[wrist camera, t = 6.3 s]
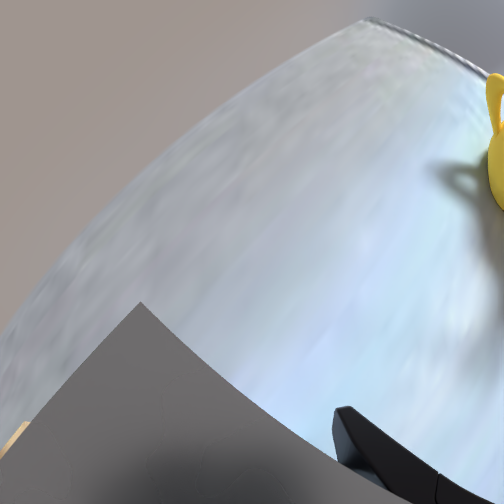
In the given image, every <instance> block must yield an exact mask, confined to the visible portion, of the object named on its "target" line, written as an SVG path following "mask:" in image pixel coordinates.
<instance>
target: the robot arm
mask: <svg viewBox="0 0 504 504" xmlns="http://www.w3.org/2000/svg"><path fill="white" fill-rule="evenodd" d="M332 435H333V440H334V444H335V449H336V454H337V459H338V462H339V463H340V464H342V465H344V466H345V467H347V468H349V469H350V470H352V471H354V472H355V473H357V474H359V475H360V476H362V477H364V478H365V479H367V480H369V481H371V482H372V483H374V484H376V485H378V486H380V487H381V488H383V489H385V490H387V491H389V492H391V493H393V494H394V495H396V496H398V497H400V498H402V499H404V500H406V501H408V502H410V503H412V504H494V503H492V502H490V501H488V500H486V499H483V498H481V497H479V496H477V495H475V494H473V493H471V492H469V491H467V490H466V489H464V488H462V487H460V486H459V485H457V484H456V483H454V482H453V481H451V480H449V479H448V478H447V477H445V476H444V475H442V474H441V473H439V474H438V471H436V470H435V469H433V468H432V467H431V466H429V465H428V464H426V463H425V462H424V461H422V460H421V459H419V458H418V457H417V456H415V455H414V454H413V453H411V452H410V451H409V450H407V449H406V448H404V447H403V446H402V445H400V444H399V443H398V442H396V441H395V440H394V439H392V438H391V437H390V436H389V435H387V434H386V433H385V432H383V431H382V430H381V429H379V428H378V427H377V426H375V425H374V424H373V423H372V422H370V421H369V420H368V419H366V418H365V417H364V416H363V415H361V414H360V413H359V412H358V411H356V410H355V409H354V408H353V407H351V406H344V407H339V408H336V409H335V411H334V418H333V425H332Z"/></svg>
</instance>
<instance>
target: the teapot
mask: <svg viewBox="0 0 504 504" xmlns="http://www.w3.org/2000/svg"><path fill="white" fill-rule="evenodd" d="M503 93H504V76H502V75H500V74H495V73H493V74H490V75H489V77H488V78H487V82H486V100H487V105H488V110H489V115H490V120H491V124H492V128H493V133H494V134H493V136H492V138H491V141H490V145H489V150H488V176H489V184H490V188H491V191H492V194H493V197H494V199H495V200H496V202H497V204H498V205H499V206H500V207H501V209H502V210H503V211H504V121H503V122H502V123H501V117H500V109H501V98H502V95H503Z"/></svg>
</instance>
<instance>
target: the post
mask: <svg viewBox="0 0 504 504" xmlns="http://www.w3.org/2000/svg"><path fill="white" fill-rule="evenodd" d="M0 504H412V503H410V502H408V501H406V500H404V499H402V498H400V497H398V496H396V495H394V494H393V493H391V492H389V491H387V490H385V489H383V488H381V487H380V486H378V485H376V484H374V483H372V482H371V481H369V480H367V479H365V478H364V477H362V476H360V475H359V474H357V473H355V472H354V471H352V470H350V469H349V468H347V467H345V466H344V465H342V464H340V463H339V462H337V461H336V460H334V459H333V458H331V457H329V456H328V455H326V454H325V453H323V452H322V451H320V450H319V449H317V448H316V447H314V446H313V445H311V444H310V443H308V442H307V441H305V440H304V439H302V438H301V437H300V436H298V435H297V434H295V433H294V432H292V431H291V430H290V429H288V428H287V427H285V426H284V425H283V424H281V423H280V422H279V421H277V420H276V419H275V418H273V417H272V416H270V415H269V414H268V413H267V412H265V411H264V410H263V409H261V408H260V407H259V406H257V405H256V404H255V403H254V402H252V401H251V400H250V399H248V398H247V397H246V396H245V395H243V394H242V393H241V392H240V391H238V390H237V389H236V388H235V387H233V386H232V385H231V384H230V383H229V382H227V381H226V380H225V379H224V378H223V377H221V376H220V375H219V374H218V373H217V372H216V371H214V370H213V369H212V368H211V367H210V366H209V365H207V364H206V363H205V362H204V361H203V360H202V359H201V358H199V357H198V356H197V355H196V354H195V353H194V352H193V351H192V350H191V349H189V348H188V347H187V346H186V345H185V344H184V343H183V342H182V341H181V340H180V339H179V338H177V337H176V336H175V335H174V334H173V333H172V332H171V331H170V330H169V329H168V328H167V327H166V326H165V325H164V324H163V323H162V322H161V321H160V320H159V319H158V318H157V317H156V316H154V315H153V314H152V313H151V312H150V311H149V310H148V309H147V308H146V307H145V306H144V305H143V304H142V302H140V303H139V304H138V305H137V306H136V307H135V308H134V309H133V310H132V311H131V312H130V313H129V314H128V315H127V316H126V317H125V318H124V319H123V320H122V321H121V322H120V324H119V325H118V326H117V327H116V328H115V329H114V330H113V331H112V332H111V333H110V334H109V335H108V336H107V337H106V338H105V339H104V340H103V342H102V343H101V344H100V345H99V346H98V347H97V348H96V349H95V350H94V351H93V352H92V353H91V355H90V356H89V357H88V358H87V359H86V360H85V361H84V362H83V363H82V364H81V365H80V367H79V368H78V369H77V370H76V371H75V372H74V373H73V374H72V375H71V377H70V378H69V379H68V380H67V381H66V382H65V383H64V384H63V386H62V387H61V388H60V389H59V390H58V391H57V392H56V393H55V395H54V396H53V397H52V398H51V399H50V400H49V402H48V403H47V404H46V405H45V406H44V407H43V408H42V410H41V411H40V412H39V413H38V414H37V415H36V417H35V418H34V419H33V420H32V421H31V423H30V424H29V425H28V426H27V427H26V429H25V430H24V431H23V432H22V433H21V435H20V436H19V437H18V438H17V439H16V441H15V442H14V443H13V444H12V446H11V447H10V448H9V449H8V451H7V452H6V453H5V454H4V456H3V457H2V458H1V459H0Z"/></svg>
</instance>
